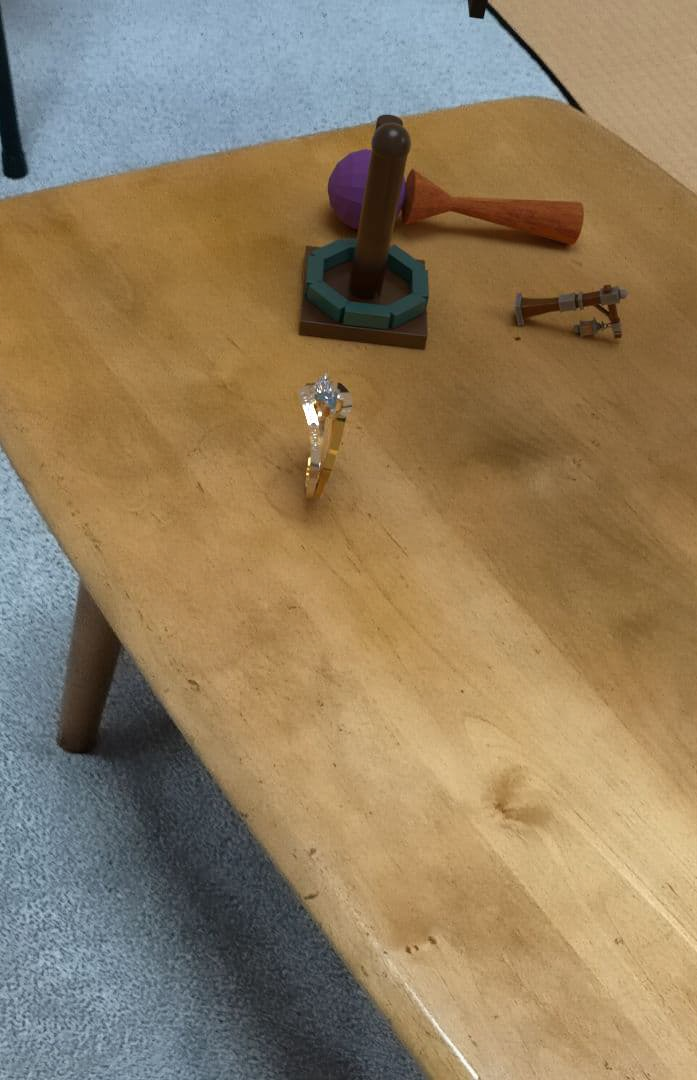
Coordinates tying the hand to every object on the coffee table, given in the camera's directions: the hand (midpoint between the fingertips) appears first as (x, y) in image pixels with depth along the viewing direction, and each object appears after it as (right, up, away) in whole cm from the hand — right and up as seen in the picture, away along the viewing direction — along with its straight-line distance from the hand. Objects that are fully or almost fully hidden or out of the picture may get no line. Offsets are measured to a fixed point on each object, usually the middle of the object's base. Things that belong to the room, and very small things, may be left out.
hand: (601, 25), depth 66 cm
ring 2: (-12, -9, +24) cm, 29 cm away
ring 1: (-16, -24, +12) cm, 31 cm away
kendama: (-5, -3, +33) cm, 33 cm away
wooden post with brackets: (+3, -12, +26) cm, 29 cm away
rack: (-12, -10, +25) cm, 30 cm away
